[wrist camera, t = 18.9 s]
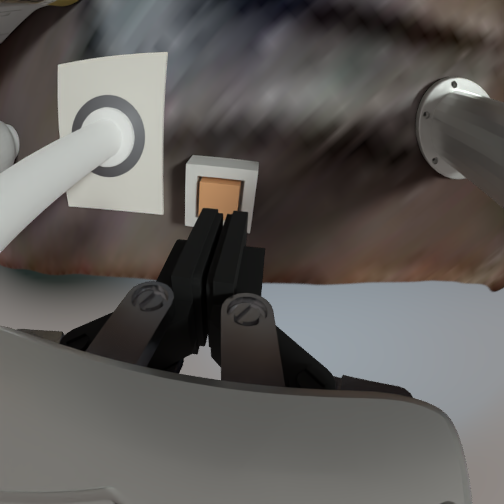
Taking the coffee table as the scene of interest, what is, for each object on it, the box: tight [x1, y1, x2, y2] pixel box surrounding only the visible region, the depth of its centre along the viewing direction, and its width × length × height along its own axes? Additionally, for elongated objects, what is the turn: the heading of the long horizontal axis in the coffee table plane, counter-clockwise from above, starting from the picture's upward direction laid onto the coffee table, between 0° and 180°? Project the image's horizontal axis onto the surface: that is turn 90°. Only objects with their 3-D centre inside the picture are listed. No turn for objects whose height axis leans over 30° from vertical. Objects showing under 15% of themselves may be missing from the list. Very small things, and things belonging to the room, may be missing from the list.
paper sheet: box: [58, 52, 168, 215], centre depth 29 cm, size 14×19×1 cm
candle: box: [0, 107, 135, 253], centre depth 19 cm, size 7×7×25 cm
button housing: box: [185, 155, 259, 233], centre depth 32 cm, size 7×7×3 cm
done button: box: [199, 176, 241, 220], centre depth 31 cm, size 4×4×2 cm
